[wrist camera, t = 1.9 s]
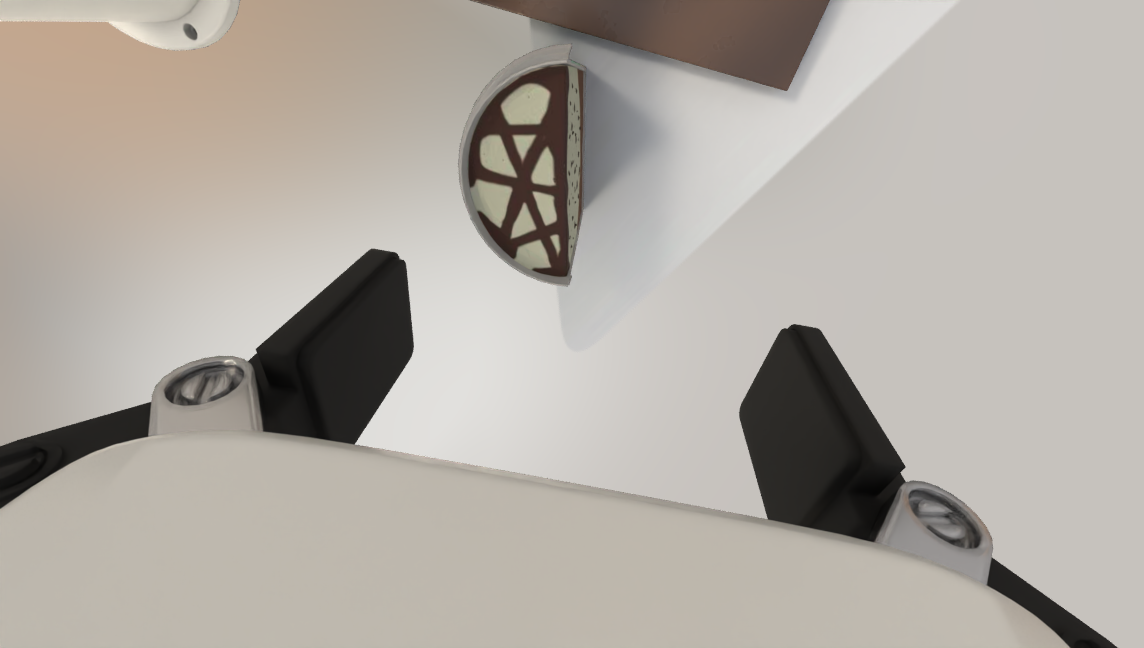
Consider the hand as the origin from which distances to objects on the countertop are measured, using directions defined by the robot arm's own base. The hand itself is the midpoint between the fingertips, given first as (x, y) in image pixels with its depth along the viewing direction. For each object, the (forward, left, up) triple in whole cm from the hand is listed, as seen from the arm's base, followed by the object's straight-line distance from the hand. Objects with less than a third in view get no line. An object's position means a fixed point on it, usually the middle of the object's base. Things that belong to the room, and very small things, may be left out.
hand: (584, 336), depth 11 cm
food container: (-5, -2, -23) cm, 24 cm away
